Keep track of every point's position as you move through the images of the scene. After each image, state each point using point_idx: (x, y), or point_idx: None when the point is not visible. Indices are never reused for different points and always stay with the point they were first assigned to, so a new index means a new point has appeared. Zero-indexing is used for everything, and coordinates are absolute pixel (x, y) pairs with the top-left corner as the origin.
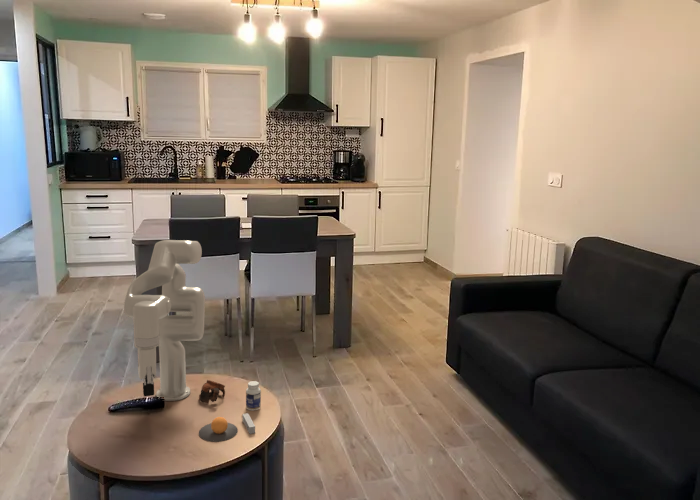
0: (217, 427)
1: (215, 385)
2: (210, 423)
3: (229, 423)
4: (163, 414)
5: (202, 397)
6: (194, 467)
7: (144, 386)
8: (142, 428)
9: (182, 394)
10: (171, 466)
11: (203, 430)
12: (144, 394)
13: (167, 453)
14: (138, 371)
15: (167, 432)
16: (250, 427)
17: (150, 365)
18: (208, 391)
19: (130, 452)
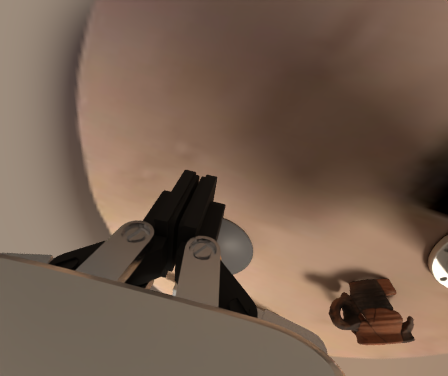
0: None
1: (364, 336)
2: (252, 251)
3: (231, 273)
4: (383, 192)
5: (371, 290)
6: (90, 161)
7: (161, 215)
8: (345, 115)
9: (443, 268)
10: (105, 121)
11: (230, 230)
12: (182, 178)
13: (166, 132)
14: (120, 328)
15: (272, 167)
16: (173, 290)
17: None
18: (363, 313)
19: (215, 36)
